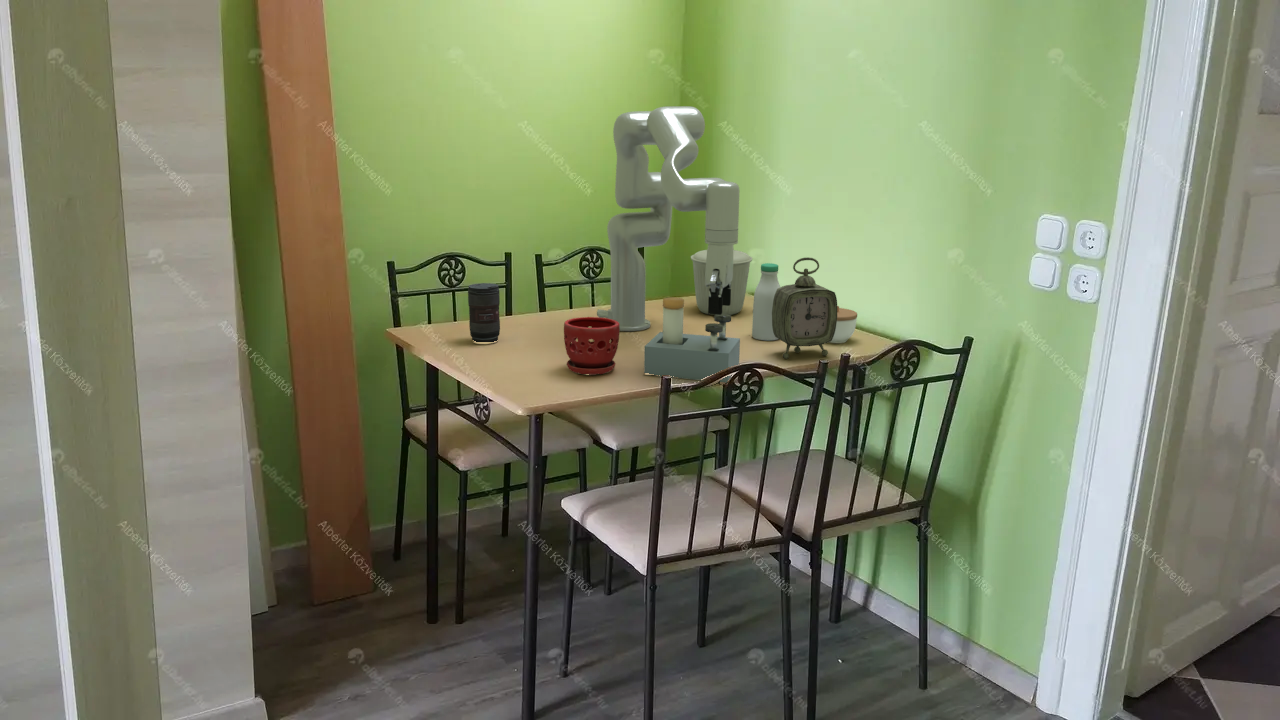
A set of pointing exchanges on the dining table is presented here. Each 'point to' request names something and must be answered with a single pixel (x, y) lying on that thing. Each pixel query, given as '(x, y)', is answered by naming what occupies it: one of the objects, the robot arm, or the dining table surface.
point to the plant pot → (591, 344)
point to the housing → (690, 357)
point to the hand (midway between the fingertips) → (719, 309)
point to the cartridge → (673, 320)
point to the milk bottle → (765, 303)
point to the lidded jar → (844, 325)
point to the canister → (737, 288)
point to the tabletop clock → (804, 312)
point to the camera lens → (484, 312)
